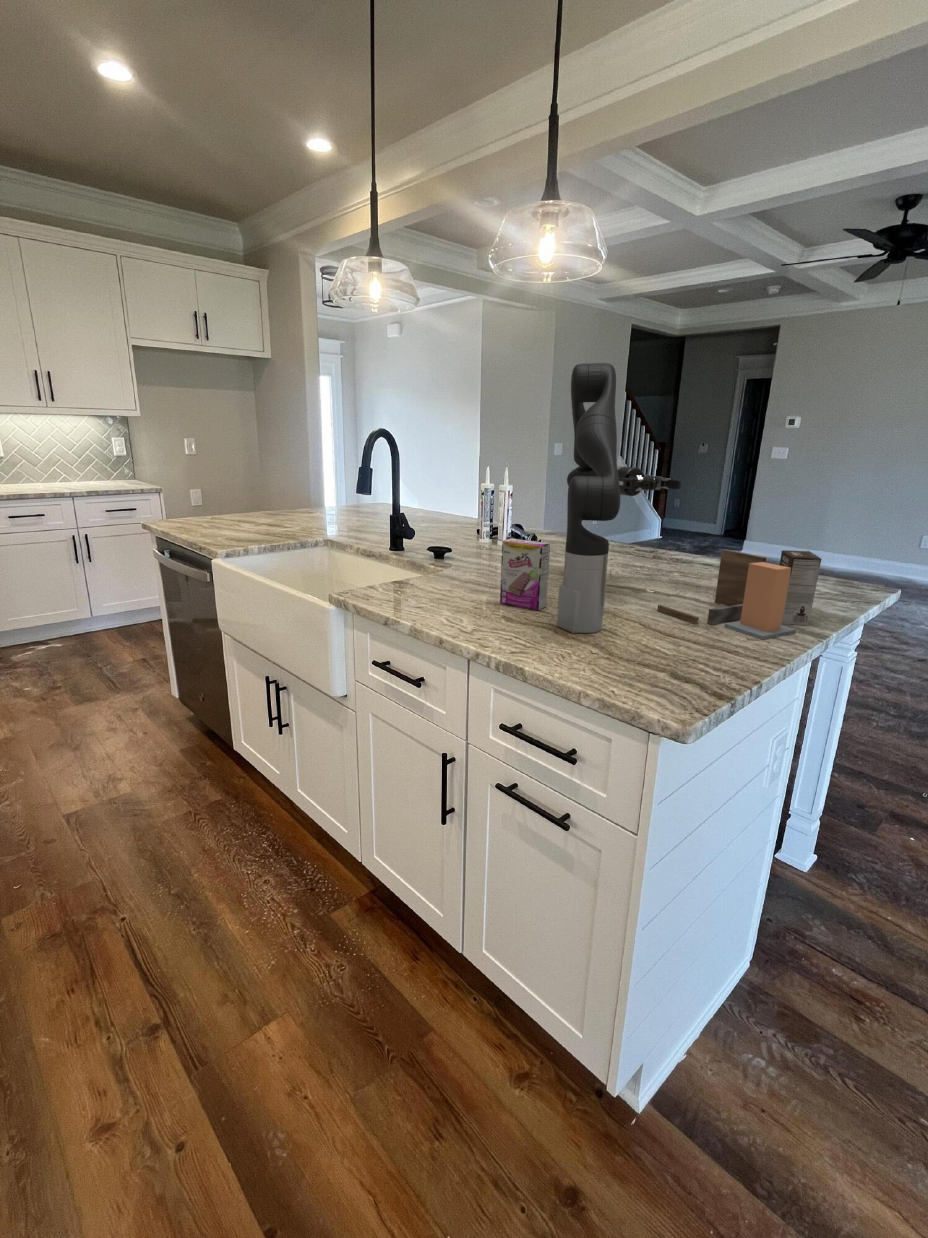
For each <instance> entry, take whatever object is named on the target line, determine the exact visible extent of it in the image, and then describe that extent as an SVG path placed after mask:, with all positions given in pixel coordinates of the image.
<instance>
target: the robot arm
mask: <svg viewBox="0 0 928 1238" xmlns="http://www.w3.org/2000/svg"><path fill="white" fill-rule="evenodd" d="M616 390H617V373H616V368H615V366H614V365H613V364H611V363H608V362H595V363H594V362H593V363H592V362H591V363H578V364H575V366H574V367H573V369H572V372H571V378H570V399H571V401H570V402H571V410H572V411H571V414H572V422H573V423H572V425H573V436H574V441H573V442H574V443H573V460H574V463H575V464H576V465H577V467H576V468H574V469H572V470H571V471H570V472H568V475H567V477H566V482H567V483H566V484H567V486H568V488H567V489H568V490H567V507H566V508H567V509H566V510H567V515H566V516H567V520H566V521H567V523H566V537H565V538H566V539H565V548H564V549H565V551H564V552H565V553H564V564H563V567H564V568H563V579H562V582H563V583H562V584H560V585H559V587H558V601H557V619H556V627H559V628H561V629H563V630H566V631H568V632H570V633H572V634H578V633H581V634H590V633H591V634H593V633H598V632H600V631H601V630H602V628H603V619H604V606H605V596H606V585H607V584H606V583H607V571H608V564H609V563H608V561H609V552H610V551H609V550H610V542H609V540H608V539H606V538H605V537H603V536H601V535H598V534H596V533H593V532H591V531H590V530H588V529H587V528H586V527H584V526H583V524H582V522H583V521H592V522H597V521H600V522H608V521H613V520H614V519H616V518H617V516H618V514H619V512H620V509H621V508H620V507H621V496H625V497H627V496H628V497H635V496H637V495H639V494H640V493H641V492H642V491H660V490H661V489H665V490H669V489H670V490H680V489H681V486H682V485H681V484H682V481H681V480H679V479H675V478H673V477H671V478H668V477H662V476H660V475H659V476H657V475H654V476H653V475H650V474H644V472H643V470H642V469H640V468H639V467H637V466H636V467H635V466H634V467H633V466H620V465H619V466H618V462H617V461H618V460H617V455H618V453H617V451H618V450H617V449H618V448H617V445H618V441H617V440H618V437H617V436H618V434H617V432H618V431H617V419H616V395H617V393H616V392H617V391H616ZM584 403H594V404H592V405H591V406H590V407H589V408H588V409H586V408H585V404H584Z"/></svg>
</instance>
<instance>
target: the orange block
mask: <svg viewBox="0 0 928 1238" xmlns="http://www.w3.org/2000/svg"><path fill="white" fill-rule="evenodd" d="M790 572H791V568H789V567H785V566H780V564H775V563H769V562H767V561H766V562H758V563H749V568H748V575H747V581H746V588H745V594H744V601H743V607H742V614H741V620H739V621H740V624H743V625H746V626H749V627H752V628H755V629H758V630H762V631H765V632H770V631H776V630H780V629H781V625H782V624H781V623H782V618H783V612H784V606H785V600H786V595H787V589H788V583H789V578H790Z"/></svg>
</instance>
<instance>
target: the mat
mask: <svg viewBox="0 0 928 1238" xmlns="http://www.w3.org/2000/svg"><path fill="white" fill-rule="evenodd" d="M723 627H724V628H727V629H728V630H729V629H730V630H732V631H736V632H739V633H742V634H745V635H748V636H750V637H754V638H756V637H757V639H760V640H762V639H764V640H767V639H772V638H771V637H773V638H778V637H782V636H783V637H784V636H787V635H786V634H788V635H793V634H796V633H797V629H795V628H792V627H789V626H786V625H783V624H781V629H780V630H776V631H770V632H765V631H762V630H758V629H755V628H752V627H749V626H746V625H743V624H740V620H736V621H731V622H725V623H724V626H723ZM792 633H793V634H792ZM777 636H778V637H777Z"/></svg>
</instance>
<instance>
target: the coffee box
mask: <svg viewBox="0 0 928 1238" xmlns="http://www.w3.org/2000/svg"><path fill="white" fill-rule="evenodd" d="M821 563H822V558H821V557H820V556H818V555H816V554H814V553H813V552H811V551H810V550H788V549H787V550H784V549H783V550H781V554H780V560H779V565H780V566H785V567H789V568H791V572H790V578H789V583H788V589H787V595H786V600H785V606H784V612H783V618H782V623H781V625H791V624H794V625H793V626H807V627H808V626H809V625H810V619H811V615H812V609H813V604H814V599H815V594H816V589H817V583H818V578H819V573H820V568H821V565H822V564H821Z"/></svg>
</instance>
